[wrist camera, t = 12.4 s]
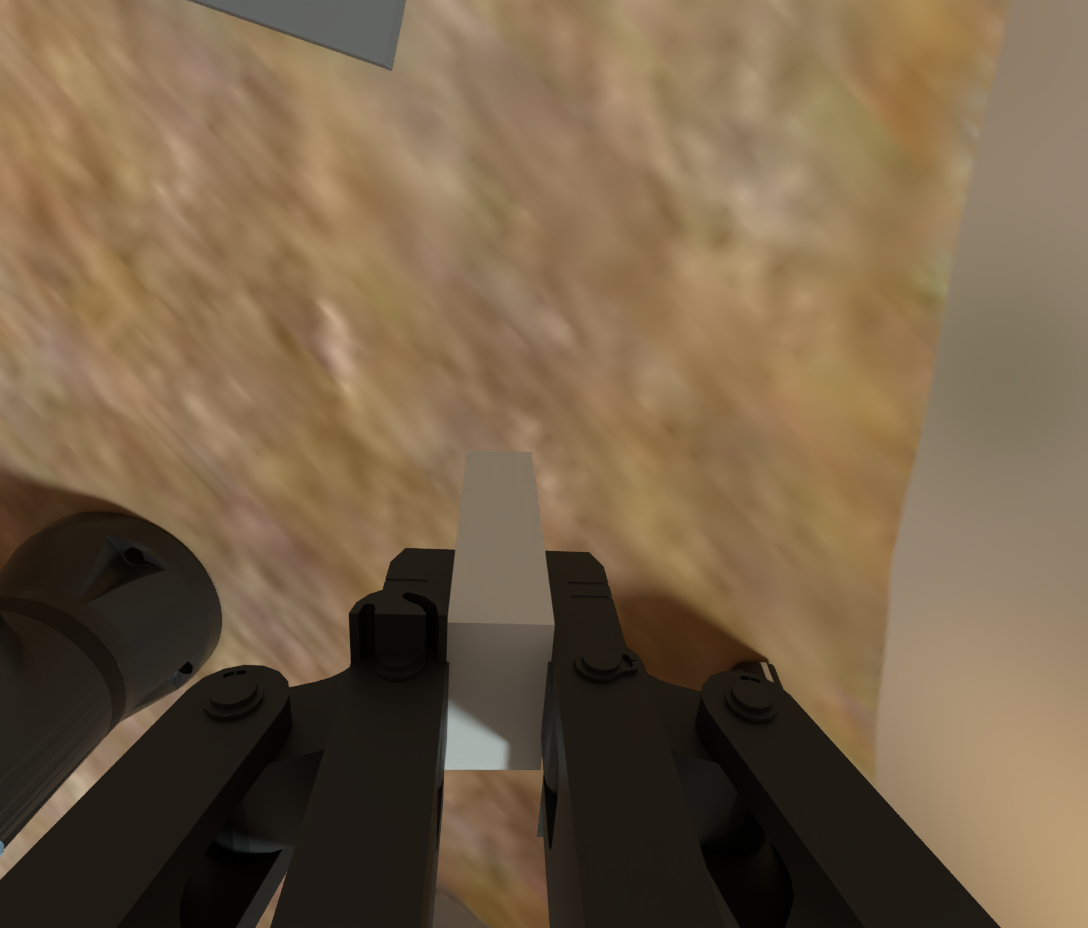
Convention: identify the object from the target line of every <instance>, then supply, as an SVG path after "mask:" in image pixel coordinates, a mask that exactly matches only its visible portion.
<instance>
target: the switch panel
mask: <svg viewBox="0 0 1088 928" xmlns="http://www.w3.org/2000/svg"><path fill="white" fill-rule="evenodd" d="M188 1H191V2H194V3H197V4H200V5H203V6H206V7H209V8H212V9H214V10H217V11H220V12H223V13H226V14H229V15H232V16H235V17H238V18H241V19H243V20H246V21H249V22H252V23H255V24H258V25H261V26H264V27H267V28H270V29H272V30H275V31H278V32H281V33H284V34H287V35H290V36H293V37H296V38H299V39H301V40H304V41H307V42H310V43H313V44H316V45H319V46H322V47H325V48H328V49H330V50H333V51H336V52H339V53H342V54H345V55H348V56H351V57H354V58H357V59H359V60H362V61H365V62H368V63H371V64H374V65H377V66H380V67H383V68H386V69H388V70H391V71H392V67H393V62H394V57H395V52H396V47H397V42H398V37H399V32H400V27H401V21H402V16H403V11H404V6H405V1H406V0H188Z"/></svg>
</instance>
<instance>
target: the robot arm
mask: <svg viewBox="0 0 1088 928" xmlns="http://www.w3.org/2000/svg"><path fill="white" fill-rule="evenodd" d="M221 628H222V613H221V606H220V602H219V598H218V595H217V592H216V589H215V587H214V585H213V583H212V581H211V579H210V577H209V576H208V574H207V572H206V571H205V569H204V568H203V567H202V565H201V564H200V563H199V561H198V560H197V559H196V558H195V557H194V556H193V555H192V554H191V553H190V552H189V551H188V550H187V549H186V548H185V547H184V546H183V545H182V544H181V543H179V542H178V541H177V540H176V539H174V538H173V537H171V536H170V535H168V534H167V533H165V532H164V531H162V530H160V529H159V528H157V527H155V526H153V525H151V524H149V523H146V522H144V521H141V520H139V519H136V518H133V517H129V516H126V515H121V514H116V513H109V512H87V513H80V514H75V515H72V516H68V517H66V518H63V519H61V520H59V521H57V522H55V523H53V524H52V525H50V526H48V527H46V528H45V529H43V530H41V531H40V532H38V533H36V534H35V535H33V536H31V537H30V538H29V539H28V540H26V541H25V542H24V543H23V544H22V545H21V546H20V547H19V548H18V549H17V550H16V551H15V552H14V554H13V555H12V556H11V558H10V559H9V560H8V562H7V563H6V564H5V565H4V566H3V568H2V569H1V570H0V856H1V855H2V853H3V852H4V849H5V848H6V847H7V845H8V844H9V843H10V842H11V841H12V840H13V839H14V838H15V837H16V835H17V834H18V833H19V832H20V831H21V830H22V829H23V828H24V827H25V825H26V824H27V823H28V822H29V821H30V820H31V819H32V818H33V817H34V815H35V814H36V813H37V812H38V811H39V810H40V809H41V808H42V807H43V805H44V804H45V803H46V802H47V801H48V800H49V799H50V798H51V797H52V795H53V794H54V793H55V792H56V791H57V790H58V789H59V788H60V787H61V786H62V784H63V783H64V782H65V781H66V780H67V779H68V778H69V777H70V776H71V774H72V773H73V772H74V771H75V770H76V769H77V768H78V767H79V766H80V765H81V763H82V762H83V761H84V760H85V759H86V758H87V757H88V756H89V755H90V754H91V753H92V751H93V750H94V749H95V748H96V747H97V746H98V745H99V744H100V743H101V741H102V740H103V739H104V738H105V737H106V736H107V735H108V734H109V733H110V732H111V730H112V729H113V728H114V727H115V726H116V725H117V724H118V723H119V722H121V721H123V720H125V719H126V718H128V717H130V716H132V715H133V714H135V713H137V712H139V711H141V710H142V709H144V708H146V707H148V706H149V705H151V704H153V703H155V702H157V701H158V700H160V699H162V698H164V697H165V696H167V695H169V694H171V693H172V692H174V691H176V690H178V689H179V688H180V687H182V686H183V685H185V684H186V683H187V682H188V681H189V680H190V679H191V678H192V677H193V676H194V675H195V674H196V673H197V672H198V671H199V669H200V668H201V667H202V666H203V665H204V664H205V662H206V661H207V660H208V659H209V658H210V656H211V655H212V653H213V652H214V650H215V648H216V646H217V644H218V641H219V638H220V634H221ZM349 629H350V652H351V664H350V667H349V668H348V669H346V670H345V671H343V672H341V673H339V674H337V675H335V676H333V677H330V678H327V679H324V680H320V681H317V682H313V683H308V684H303V685H298V686H294V687H289V685H288V681H287V680H286V678H285V677H284V676H283V675H282V674H281V673H280V672H279V671H276V670H274V669H271V668H268V667H266V666H258V665H242V666H236V667H231V668H226V669H222V670H220V671H218V672H215V673H213V674H211V675H209V676H206V677H204V678H202V679H201V680H200V681H199V682H197V683H196V684H195V685H193V686H192V687H191V688H189V689H188V690H187V691H186V692H185V693H184V694H183V695H182V696H181V697H180V698H179V699H178V700H177V701H176V702H175V703H174V704H173V705H172V706H171V707H170V708H169V709H168V710H167V711H166V712H165V713H164V714H163V715H162V716H161V717H160V718H159V719H158V720H157V721H156V722H155V723H154V724H153V725H152V726H151V727H150V728H149V729H148V730H147V731H146V732H145V733H144V735H143V736H142V737H141V738H140V739H139V740H138V741H137V742H136V743H135V744H134V745H133V746H132V747H131V748H130V749H129V750H128V751H127V752H126V753H125V754H124V755H123V756H122V757H121V758H120V759H119V760H118V761H117V762H116V763H115V764H114V765H113V766H112V767H111V768H110V769H109V770H108V771H107V772H106V773H105V774H104V775H103V776H102V777H101V778H100V779H99V780H98V781H97V782H96V783H95V784H94V785H93V786H92V787H91V788H90V789H89V790H88V791H87V792H86V793H85V794H84V795H83V796H82V797H81V798H80V800H79V801H78V802H77V803H76V804H75V805H74V806H73V807H72V808H71V809H70V810H69V811H68V812H67V813H66V814H65V815H64V816H63V817H62V818H61V819H60V820H59V821H58V822H57V823H56V824H55V825H54V826H53V827H52V828H51V829H50V830H49V831H48V832H47V833H46V834H45V835H44V836H43V837H42V838H41V839H40V840H39V841H38V842H37V843H36V844H35V845H34V846H33V847H32V848H31V849H30V850H29V851H28V852H27V853H26V854H25V855H24V856H23V857H22V858H21V859H20V860H19V861H18V862H17V863H16V865H15V866H14V867H13V868H12V869H11V870H10V871H9V872H8V873H7V874H6V875H5V876H4V877H3V878H2V879H1V880H0V928H255V927H256V925H257V923H258V922H259V920H260V918H261V916H262V915H263V913H264V911H265V909H266V908H267V906H268V904H269V902H270V901H271V899H272V897H273V895H274V893H275V892H276V890H277V888H278V886H279V885H280V883H281V881H282V879H283V878H284V876H285V874H286V872H287V874H286V877H285V881H284V884H283V887H282V891H281V894H280V897H279V900H278V904H277V907H276V910H275V914H274V917H273V920H272V923H271V927H270V928H432V926H433V914H434V901H435V890H436V879H437V867H438V855H439V843H440V832H441V820H442V808H443V787H444V770H540V768H541V758H543V771H544V775H543V785H542V795H541V804H540V814H539V824H538V834H537V837H544V851H545V866H546V880H547V895H548V909H549V924H550V928H1000V926H999V925H998V924H997V923H996V922H995V921H994V920H993V919H992V918H991V917H990V915H989V914H988V913H987V912H986V911H985V910H984V909H983V908H982V907H981V906H980V905H979V903H978V902H977V901H976V900H975V899H974V898H973V897H972V896H971V895H970V894H969V892H968V891H967V890H966V889H965V888H964V887H963V886H962V885H961V883H960V882H959V881H958V880H957V879H956V878H955V877H954V876H953V875H952V874H951V872H950V871H949V870H948V869H947V868H946V867H945V866H944V865H943V864H942V862H941V861H940V860H939V859H938V858H937V857H936V856H935V855H934V854H933V852H932V851H931V850H930V849H929V848H928V847H927V846H926V845H925V844H924V842H923V841H921V839H920V838H919V837H918V836H917V835H916V834H915V833H914V831H913V830H912V829H911V828H910V827H909V826H908V825H907V824H906V823H905V821H904V820H903V819H902V818H901V817H900V816H899V815H898V814H897V813H896V812H895V811H894V809H893V808H892V807H891V806H890V805H889V804H888V803H887V802H886V800H885V799H884V798H883V797H882V796H881V795H880V794H879V793H878V792H877V791H876V789H875V788H874V787H873V786H872V785H871V784H870V783H869V782H868V781H867V779H866V778H865V777H864V776H863V775H862V774H861V773H860V772H859V771H858V770H857V768H856V767H855V766H854V765H853V764H852V763H851V762H850V761H849V760H848V758H847V757H846V756H845V755H844V754H843V753H842V752H841V751H840V750H839V748H838V747H837V746H836V745H835V744H834V743H833V742H832V741H831V740H830V739H829V737H828V736H827V735H826V734H825V733H824V732H823V731H822V730H821V729H820V727H819V726H818V725H817V724H816V723H815V722H814V721H813V720H812V719H811V718H810V716H809V715H808V714H807V713H806V712H805V711H804V710H803V709H802V708H801V706H800V705H799V704H798V703H797V702H796V701H795V700H794V699H793V698H792V697H791V695H789V694H788V693H787V692H786V691H785V690H783V689H782V688H781V687H780V686H779V685H777V684H776V683H774V682H772V681H770V680H768V679H766V678H764V677H762V676H760V675H756V674H751V673H747V672H743V671H723V672H721V673H718V674H715V675H712V676H710V678H709V679H708V680H707V681H706V682H705V683H704V684H703V687H702V692H700V691H696V690H692V689H688V688H684V687H680V686H676V685H673V684H670V683H667V682H664V681H661V680H659V679H657V678H655V677H653V676H651V675H649V674H648V673H647V672H646V668H645V666H644V664H643V663H642V661H641V659H640V658H639V656H638V655H637V654H635V653H634V652H633V651H632V650H630V649H629V648H628V647H626V644H625V640H624V637H623V633H622V630H621V626H620V623H619V619H618V616H617V612H616V609H615V605H614V602H613V600H612V595H611V591H610V587H609V586H608V580H607V577H606V573H605V570H604V567H603V566H602V565H601V564H600V563H599V562H598V561H597V560H596V559H595V558H594V557H593V556H592V555H591V554H590V553H589V552H565V551H545V548H544V540H543V533H542V525H541V518H540V510H539V503H538V495H537V488H536V480H535V472H534V465H533V457H532V453H530V452H509V451H487V450H467V455H466V463H465V472H464V480H463V489H462V498H461V506H460V515H459V524H458V532H457V541H456V550H449V549H419V548H405V549H404V550H403V551H402V552H401V553H400V554H399V555H398V556H396V557H395V558H394V559H393V560H392V561H391V562H390V565H389V569H388V572H387V576H386V582H385V583H384V586H383V590H381V591H378V592H374V593H371V594H369V595H367V596H366V597H364V598H362V599H361V600H359V601H358V602H356V604H355V605H354V606H353V608H352V609H351V611H350V612H349Z"/></svg>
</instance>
